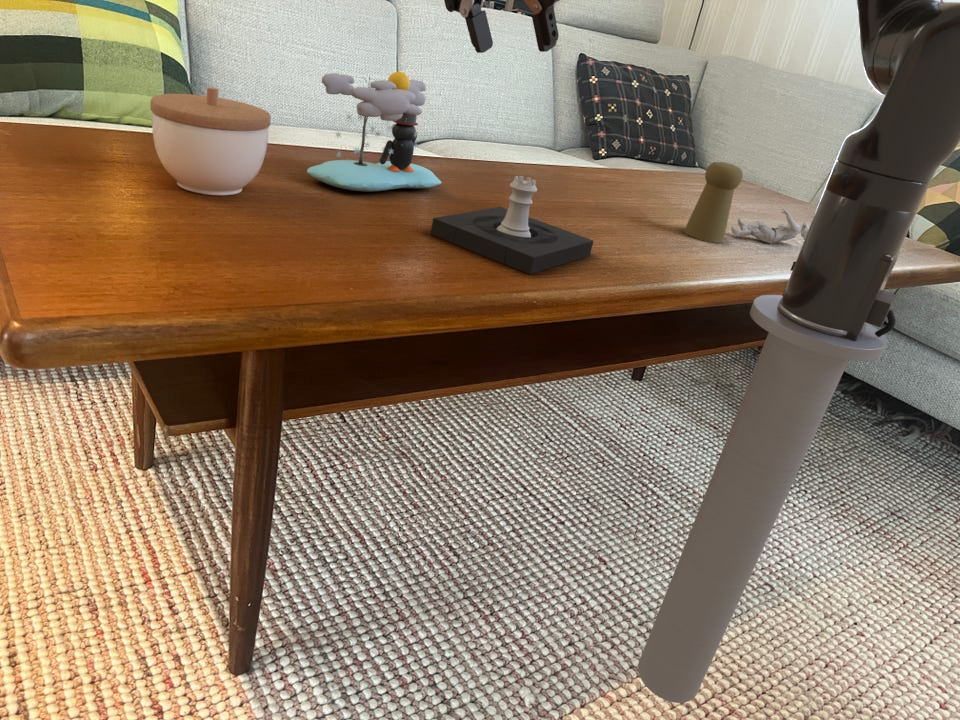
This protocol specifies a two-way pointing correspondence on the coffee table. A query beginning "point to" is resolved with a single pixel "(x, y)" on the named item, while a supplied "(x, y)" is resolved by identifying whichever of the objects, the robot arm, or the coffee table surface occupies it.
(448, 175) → the coffee table surface
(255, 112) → the lidded bowl
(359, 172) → the penguin figurine
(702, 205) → the brown game pawn
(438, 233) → the pad
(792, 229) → the soldier figure
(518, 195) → the rook chess piece
